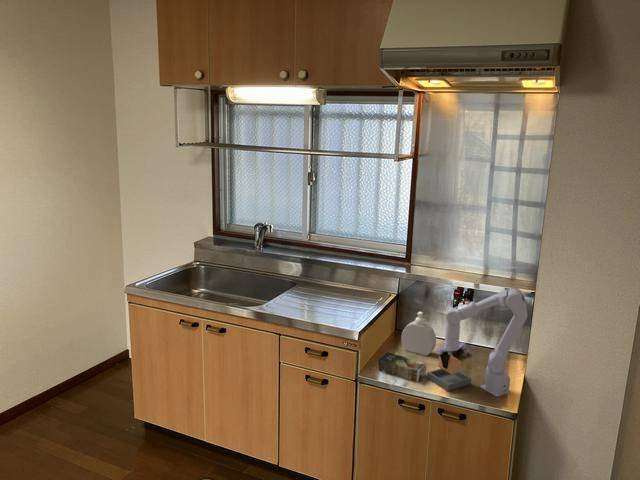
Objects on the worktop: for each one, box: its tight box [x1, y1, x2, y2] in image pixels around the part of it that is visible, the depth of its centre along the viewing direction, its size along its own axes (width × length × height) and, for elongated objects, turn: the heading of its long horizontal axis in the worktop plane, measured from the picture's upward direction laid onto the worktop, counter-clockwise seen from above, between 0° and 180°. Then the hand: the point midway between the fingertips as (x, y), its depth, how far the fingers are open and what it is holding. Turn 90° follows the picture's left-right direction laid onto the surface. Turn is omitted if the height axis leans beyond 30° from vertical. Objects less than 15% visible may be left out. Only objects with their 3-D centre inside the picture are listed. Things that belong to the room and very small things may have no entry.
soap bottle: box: [400, 311, 437, 357], centre depth 265 cm, size 16×5×20 cm, turn 58°
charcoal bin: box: [426, 368, 472, 393], centre depth 238 cm, size 13×13×3 cm
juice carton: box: [378, 352, 427, 383], centre depth 245 cm, size 20×10×6 cm, turn 57°
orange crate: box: [438, 355, 462, 375], centre depth 236 cm, size 8×5×5 cm, turn 29°
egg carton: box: [447, 347, 470, 358], centre depth 264 cm, size 11×8×4 cm
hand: (449, 366), depth 237 cm, fingers closed on orange crate, 5 cm apart
